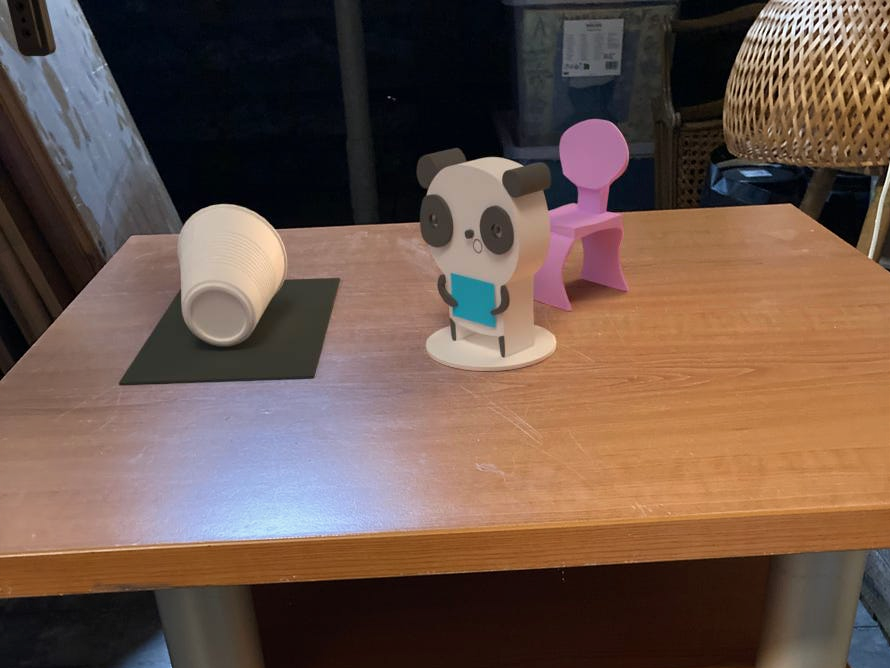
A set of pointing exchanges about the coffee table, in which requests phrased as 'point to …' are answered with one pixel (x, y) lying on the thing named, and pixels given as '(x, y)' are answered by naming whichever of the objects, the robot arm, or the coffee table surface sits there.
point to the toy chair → (586, 212)
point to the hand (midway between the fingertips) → (38, 54)
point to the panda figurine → (486, 258)
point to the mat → (258, 357)
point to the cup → (228, 272)
